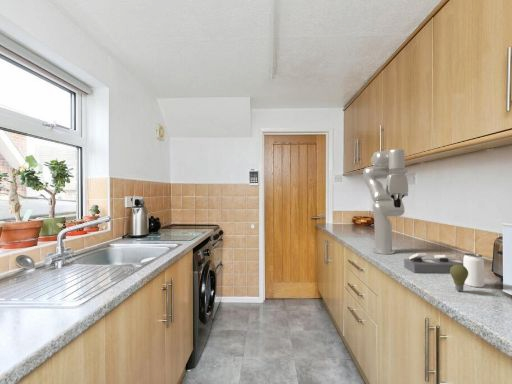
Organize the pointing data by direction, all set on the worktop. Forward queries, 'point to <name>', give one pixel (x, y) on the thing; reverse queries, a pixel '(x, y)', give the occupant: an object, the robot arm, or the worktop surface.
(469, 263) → the can
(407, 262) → the switch panel
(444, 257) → the rocker
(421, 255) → the rocker
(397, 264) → the worktop surface
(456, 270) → the light bulb
